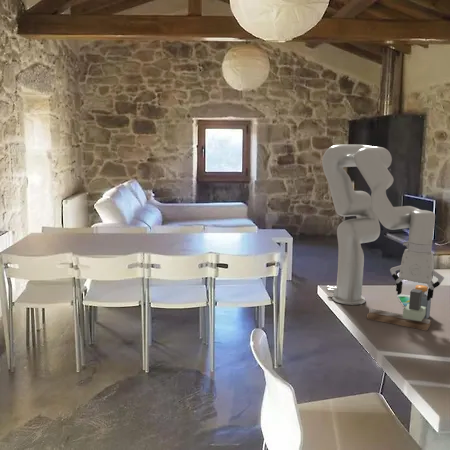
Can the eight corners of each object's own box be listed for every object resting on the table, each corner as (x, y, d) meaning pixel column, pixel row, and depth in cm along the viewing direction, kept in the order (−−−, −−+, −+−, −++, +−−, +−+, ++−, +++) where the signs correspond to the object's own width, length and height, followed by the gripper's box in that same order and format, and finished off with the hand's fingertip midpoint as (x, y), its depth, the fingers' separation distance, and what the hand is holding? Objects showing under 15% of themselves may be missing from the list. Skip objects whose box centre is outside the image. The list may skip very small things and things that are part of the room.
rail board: (366, 318, 185) (367, 311, 184) (372, 313, 191) (372, 306, 190) (426, 330, 175) (427, 323, 174) (430, 324, 181) (431, 317, 180)
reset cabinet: (408, 317, 187) (410, 295, 185) (412, 312, 192) (413, 291, 190) (426, 320, 184) (428, 298, 182) (429, 315, 189) (431, 294, 187)
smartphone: (414, 294, 212) (423, 307, 197) (413, 296, 212) (423, 309, 197) (395, 293, 212) (403, 305, 198) (395, 295, 213) (403, 307, 198)
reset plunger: (413, 301, 186) (414, 287, 185) (415, 298, 189) (416, 284, 189) (425, 303, 184) (426, 289, 183) (427, 300, 187) (428, 286, 187)
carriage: (402, 317, 178) (404, 292, 177) (407, 311, 184) (409, 286, 183) (421, 321, 175) (423, 295, 174) (425, 315, 181) (427, 289, 180)
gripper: (390, 245, 177) (385, 294, 180) (445, 254, 168) (438, 305, 172) (395, 241, 183) (390, 288, 187) (449, 249, 174) (442, 298, 178)
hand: (413, 296), depth 179 cm, fingers open, 9 cm apart
